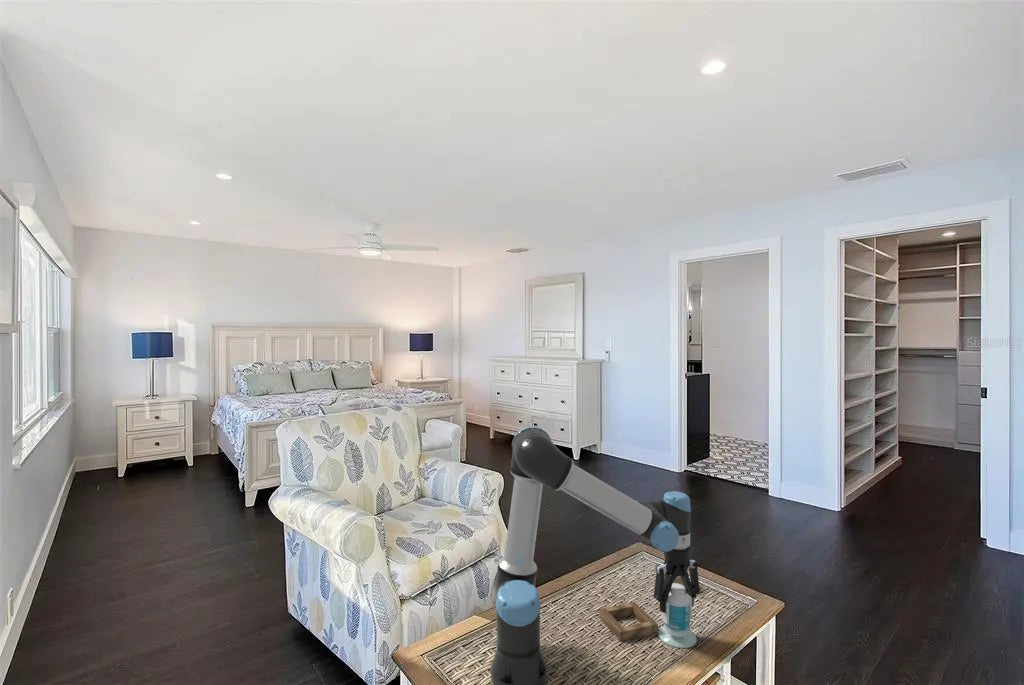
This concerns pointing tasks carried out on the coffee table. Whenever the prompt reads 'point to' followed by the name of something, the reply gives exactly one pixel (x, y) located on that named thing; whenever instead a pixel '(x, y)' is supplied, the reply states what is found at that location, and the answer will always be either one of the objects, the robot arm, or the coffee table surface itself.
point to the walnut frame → (632, 631)
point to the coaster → (677, 639)
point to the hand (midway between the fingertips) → (676, 619)
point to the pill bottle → (678, 611)
